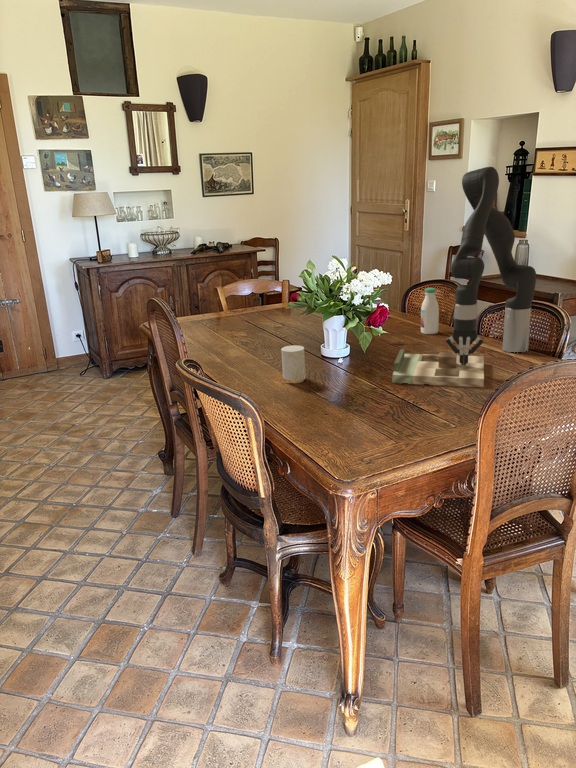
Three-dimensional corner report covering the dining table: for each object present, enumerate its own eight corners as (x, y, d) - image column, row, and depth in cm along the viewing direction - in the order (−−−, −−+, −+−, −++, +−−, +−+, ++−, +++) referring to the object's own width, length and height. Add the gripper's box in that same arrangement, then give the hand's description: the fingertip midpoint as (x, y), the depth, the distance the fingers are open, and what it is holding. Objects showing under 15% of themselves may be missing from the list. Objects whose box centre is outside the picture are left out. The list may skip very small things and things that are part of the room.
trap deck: (483, 363, 215) (484, 348, 213) (483, 387, 192) (484, 370, 190) (401, 361, 224) (401, 346, 222) (392, 383, 201) (392, 366, 199)
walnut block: (456, 363, 208) (456, 352, 207) (455, 368, 203) (456, 357, 201) (439, 362, 210) (439, 352, 208) (438, 367, 204) (438, 356, 203)
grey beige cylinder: (289, 385, 204) (287, 353, 200) (279, 379, 211) (277, 348, 207) (309, 381, 208) (308, 348, 204) (299, 375, 215) (297, 344, 211)
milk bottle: (440, 331, 263) (441, 287, 257) (434, 335, 257) (436, 290, 251) (424, 329, 267) (425, 286, 261) (418, 333, 261) (418, 289, 255)
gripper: (485, 314, 200) (483, 362, 205) (446, 313, 204) (444, 360, 209) (486, 319, 193) (483, 368, 199) (445, 318, 197) (443, 367, 203)
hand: (463, 364), depth 204 cm, fingers closed
